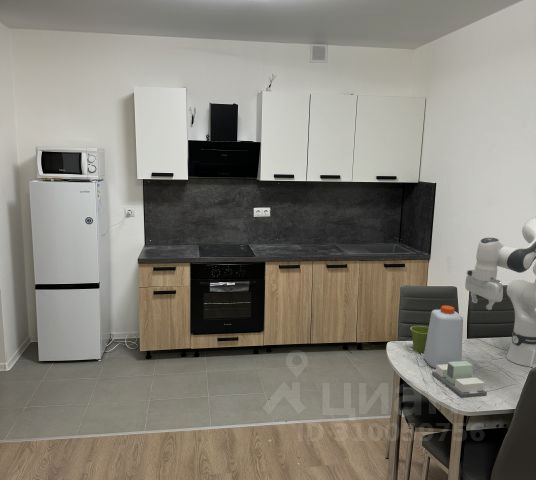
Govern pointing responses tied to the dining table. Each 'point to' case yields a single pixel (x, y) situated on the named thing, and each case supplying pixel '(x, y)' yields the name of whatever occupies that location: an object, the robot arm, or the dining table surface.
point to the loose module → (458, 371)
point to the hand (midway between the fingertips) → (481, 305)
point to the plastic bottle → (444, 337)
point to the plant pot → (419, 338)
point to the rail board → (452, 387)
